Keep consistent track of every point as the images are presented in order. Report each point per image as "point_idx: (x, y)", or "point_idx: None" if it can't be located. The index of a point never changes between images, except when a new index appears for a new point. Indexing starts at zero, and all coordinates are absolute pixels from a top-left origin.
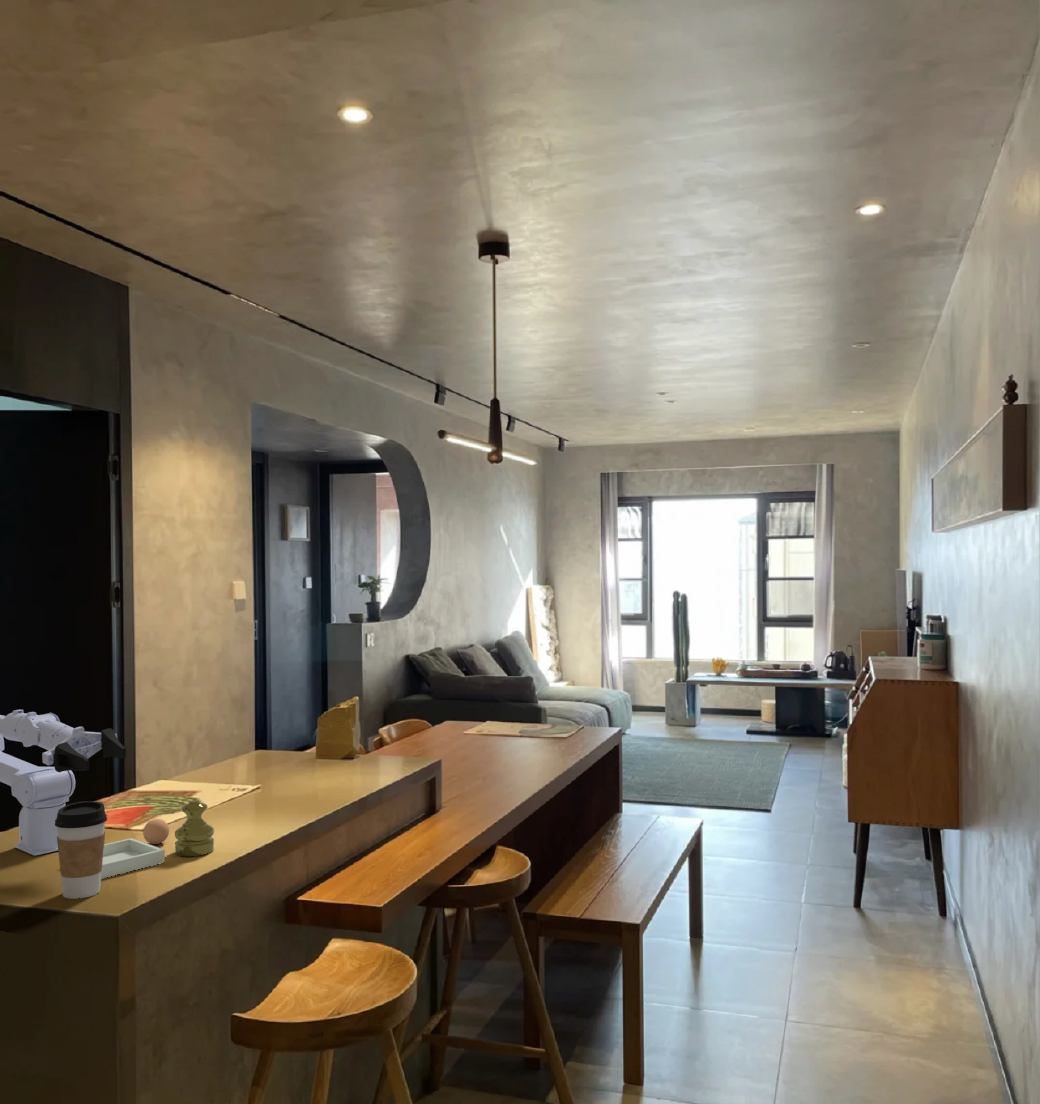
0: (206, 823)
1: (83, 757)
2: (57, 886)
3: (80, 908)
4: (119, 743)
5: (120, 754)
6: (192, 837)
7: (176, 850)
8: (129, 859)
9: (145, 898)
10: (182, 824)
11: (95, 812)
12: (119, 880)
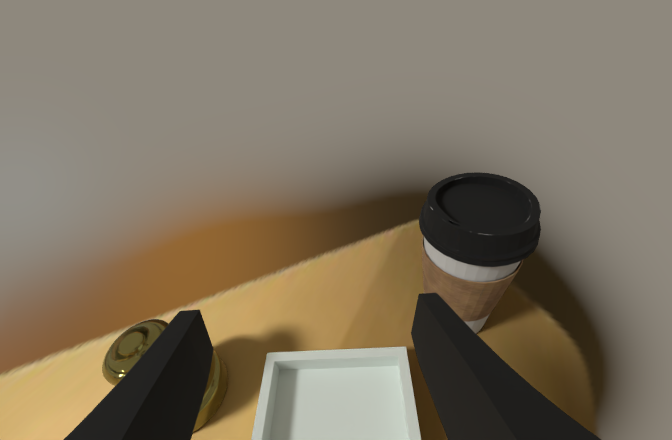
0: None
1: (446, 312)
2: None
3: None
4: (146, 360)
5: (203, 354)
6: None
7: (221, 394)
8: (343, 350)
9: (385, 239)
10: None
11: (455, 176)
12: (380, 329)
